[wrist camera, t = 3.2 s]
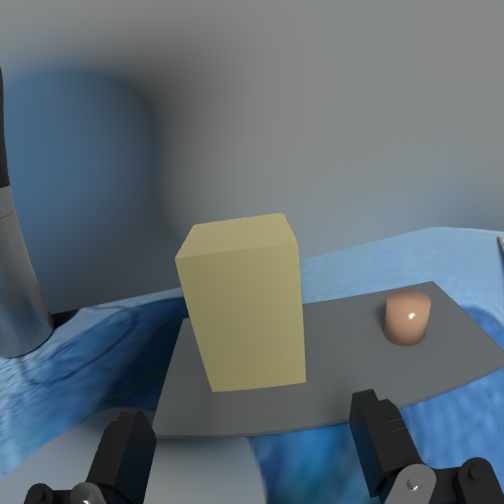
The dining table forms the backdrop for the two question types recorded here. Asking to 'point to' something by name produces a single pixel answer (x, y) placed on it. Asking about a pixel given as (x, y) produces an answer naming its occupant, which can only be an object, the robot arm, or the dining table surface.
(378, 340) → the mat
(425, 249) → the dining table surface
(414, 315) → the tan rounded blob
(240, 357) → the tall cream block
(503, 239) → the unicorn horn
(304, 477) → the dining table surface
